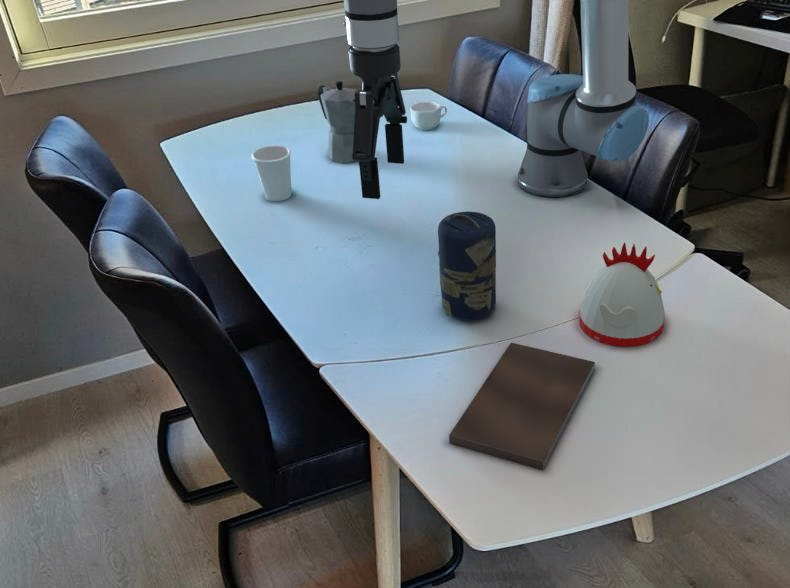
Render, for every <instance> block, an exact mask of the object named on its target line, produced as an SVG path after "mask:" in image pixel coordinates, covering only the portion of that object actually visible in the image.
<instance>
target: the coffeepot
mask: <svg viewBox="0 0 790 588" xmlns="http://www.w3.org/2000/svg"><path fill="white" fill-rule="evenodd" d="M335 85H336V88H332V87H330V86H326V85H323V84H321V85H319V86H318V88H317V90H316V96H317V98H318V102H319V104H320V108H321V111H322V114H323V117H324V119H325V120H326V121H327V123H328V125H329V131H328V150H327V151H328V153H327V156H328V157H329V160H331V162H335V163H339V164H350V163H355V162H357V161H356V160H353V159H352V154H353V140H354V122H355V91H359V90H358V89H357V88H350V87H343V85H344V83H343V81H340V80H338V81H336V82H335ZM363 152H364V151H363Z"/></svg>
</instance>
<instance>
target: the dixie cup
mask: <svg viewBox="0 0 790 588" xmlns="http://www.w3.org/2000/svg"><path fill="white" fill-rule="evenodd" d="M291 154H292V150H291V149H290V148H289V147H287V146H284V145H276V144H275V145H266V146H262V147H259V148H257V149H255V150H254V151H252V153H251V159H252V160H253V162H254V165H255V168H256V172H257V174H258V178H259V181H260V184H261V188H262V191H263V193H264V197H265V199H266V200H267V201H271V202H282V201H286V200H287V199H290V197H291V196H292V175H291V174H292V172H291V171H292V170H291V169H292V168H291Z"/></svg>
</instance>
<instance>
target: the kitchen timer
mask: <svg viewBox="0 0 790 588" xmlns="http://www.w3.org/2000/svg"><path fill="white" fill-rule="evenodd" d="M626 244H627V243H626V242H625V241H624V242H623V243H622V246H621V249H620V253H619V252H618V251H617V248H616V247H615V246H613V247H612V249H611V253H612V259H610V257H608V254H607V253H606V252H605V251H603V254H602V258H603V262H604V264H605V265H604V266H603V267H602V268H601V269H600V270H599V271H597V273H596V274H595V275H594V277H592V279H591V281H590V283H589V284H588V287H587V290H586V291H585V293H584V297H583V298H582V301H581V304H580V307H579V317H578V321H579V327H580V328H581V330H582V331H583V333H584V334H586V335H587V336H588V337H589V338H591V339H592V340H595V341H597V342H598V343H601V344H604V345H609V346H613V347H623V348H629V347H639V346H643V345H646V344H650V343H651V342H653V341H654V340H656V339H657V338H658V337H660V335H661V334H662V332H663V329H664V325H665V307H664V302H663V298H662V292H663V291H662V290H661V289H660V286H659V284H658V282H657V279H656V278H655V277H654V275H653V274H652V272H651V271H650V270H649V269H648V268H649V267H650V266H651V264H653V262H654V260H655V258H656V254H655V253H654V254H653V255H652V256H651V257H650V258H647V252H648V251H647V250H648V247H647V245H646V246H644V247H643V249H642V252H641V254H640V255H639V256H638V255H637V250H636V249H637V248H636V244H635V243H633V244H632V247H631V250H630V253H629V254H628V249H627V245H626Z"/></svg>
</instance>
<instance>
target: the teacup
mask: <svg viewBox="0 0 790 588" xmlns="http://www.w3.org/2000/svg"><path fill="white" fill-rule="evenodd" d="M409 108H410V111H409V112H410V119H411V122H412V124H413V126H414V127H416V129H418V130H421V131H430V130H431V131H432V130H433V129H435V128H437V127H438V125H439V124H440V122H441V119H442V118H443V117H445V116H446V115H447V113H448V107H446V106H445V105H441V103H439V102H437V101H432V100H425V101H424V100H423V101H418V102H415V103H412V104H411V105H410V106H409ZM443 109H444V112H443V113H442V110H443Z"/></svg>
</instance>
